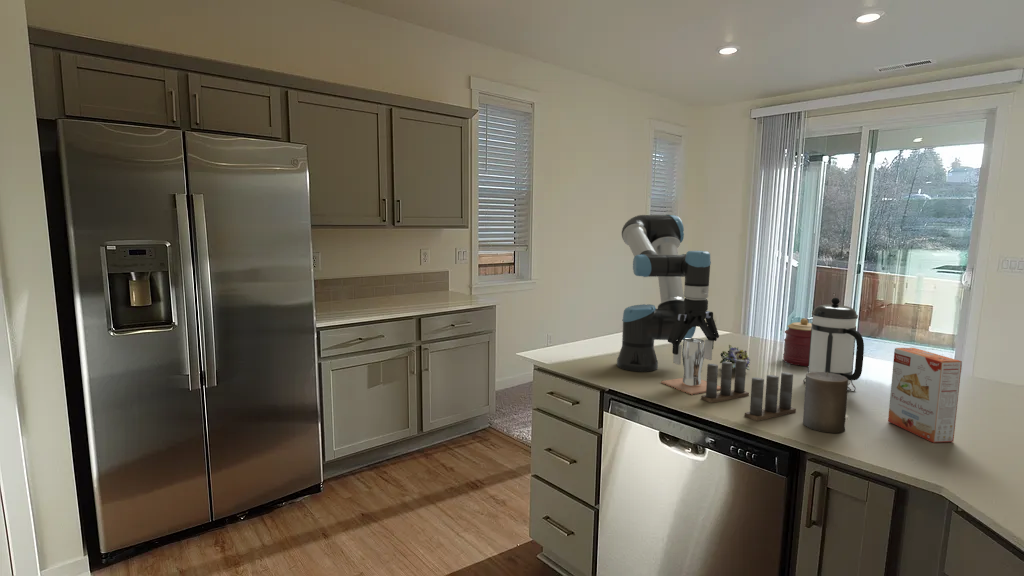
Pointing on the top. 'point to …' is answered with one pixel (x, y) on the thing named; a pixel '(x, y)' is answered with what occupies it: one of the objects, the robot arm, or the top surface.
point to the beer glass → (692, 361)
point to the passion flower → (735, 356)
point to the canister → (797, 343)
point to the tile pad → (691, 390)
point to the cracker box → (925, 393)
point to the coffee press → (835, 341)
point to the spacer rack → (756, 390)
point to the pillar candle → (825, 402)
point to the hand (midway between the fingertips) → (692, 361)
